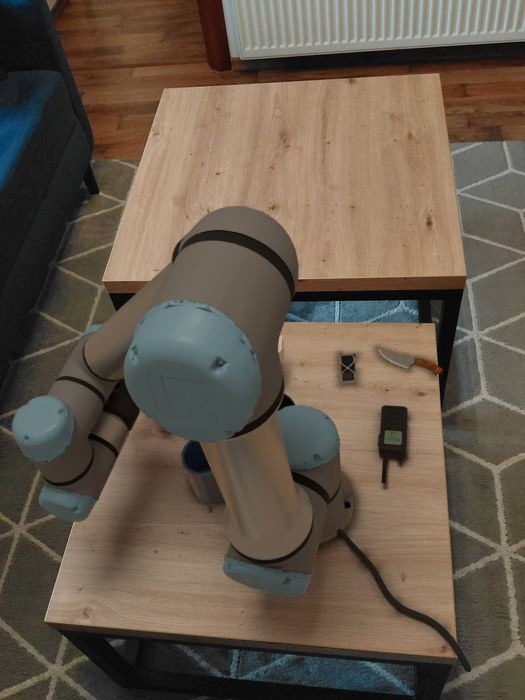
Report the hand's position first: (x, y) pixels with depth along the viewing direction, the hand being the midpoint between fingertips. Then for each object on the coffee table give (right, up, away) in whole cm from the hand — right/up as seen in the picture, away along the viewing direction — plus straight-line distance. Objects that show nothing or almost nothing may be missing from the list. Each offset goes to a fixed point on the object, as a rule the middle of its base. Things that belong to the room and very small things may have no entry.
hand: (164, 313), depth 113 cm
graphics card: (+32, -10, +14) cm, 36 cm away
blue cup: (+9, -30, +2) cm, 31 cm away
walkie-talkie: (+41, -17, +5) cm, 45 cm away
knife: (+45, -10, +12) cm, 47 cm away
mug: (+20, -22, +7) cm, 30 cm away
